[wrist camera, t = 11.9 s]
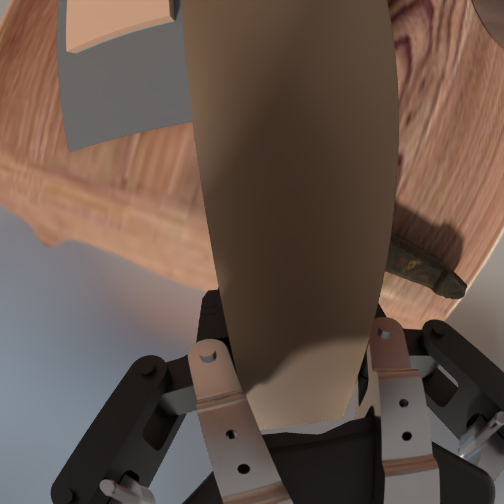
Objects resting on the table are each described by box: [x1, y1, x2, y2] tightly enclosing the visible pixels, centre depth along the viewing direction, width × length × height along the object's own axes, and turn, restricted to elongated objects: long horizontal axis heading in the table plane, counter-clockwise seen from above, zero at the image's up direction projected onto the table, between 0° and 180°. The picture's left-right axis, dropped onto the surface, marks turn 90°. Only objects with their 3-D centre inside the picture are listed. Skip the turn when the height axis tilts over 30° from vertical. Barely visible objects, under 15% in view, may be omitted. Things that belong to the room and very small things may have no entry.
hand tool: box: [385, 234, 467, 299], centre depth 22 cm, size 19×4×5 cm, turn 66°
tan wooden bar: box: [181, 0, 399, 430], centre depth 8 cm, size 4×18×5 cm, turn 5°
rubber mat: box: [57, 0, 193, 152], centre depth 12 cm, size 12×22×1 cm, turn 5°
